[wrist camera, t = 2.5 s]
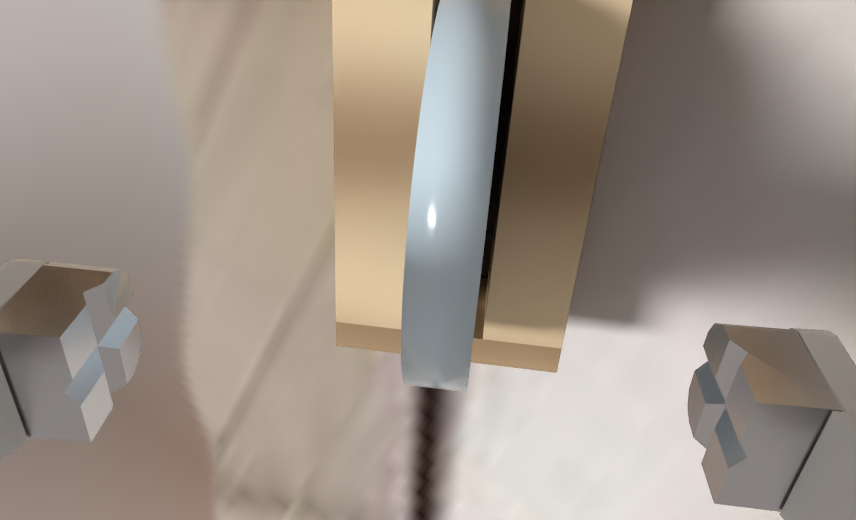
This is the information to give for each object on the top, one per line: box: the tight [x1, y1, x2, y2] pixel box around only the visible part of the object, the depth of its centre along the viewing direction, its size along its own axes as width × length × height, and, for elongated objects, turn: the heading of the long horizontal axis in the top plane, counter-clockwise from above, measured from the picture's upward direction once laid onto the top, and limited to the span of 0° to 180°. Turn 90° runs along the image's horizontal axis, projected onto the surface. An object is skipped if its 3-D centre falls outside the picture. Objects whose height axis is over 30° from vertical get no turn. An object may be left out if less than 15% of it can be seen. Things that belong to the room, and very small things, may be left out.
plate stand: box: [332, 0, 633, 373], centre depth 17 cm, size 11×6×3 cm, turn 177°
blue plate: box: [401, 0, 511, 392], centre depth 15 cm, size 8×1×8 cm, turn 177°
